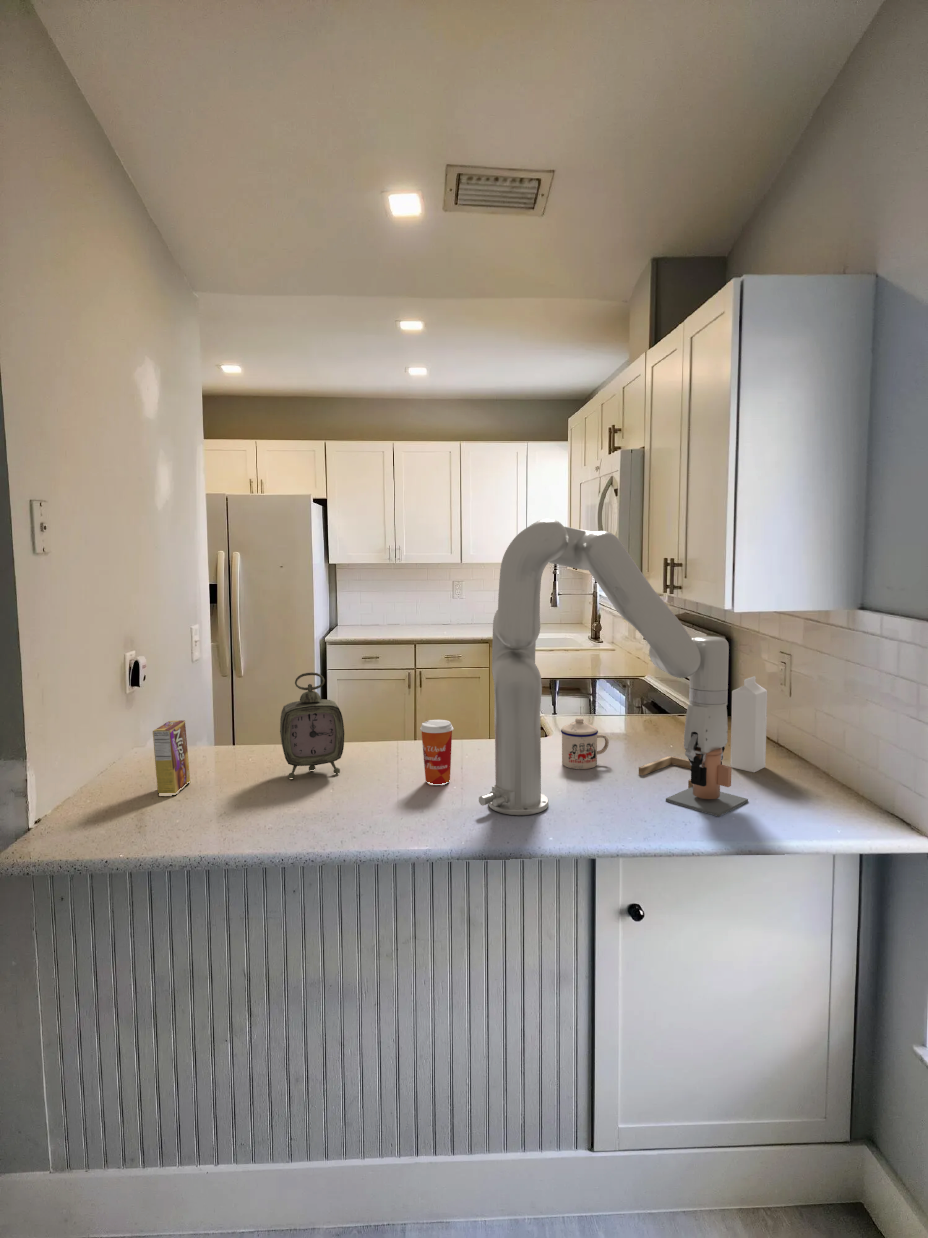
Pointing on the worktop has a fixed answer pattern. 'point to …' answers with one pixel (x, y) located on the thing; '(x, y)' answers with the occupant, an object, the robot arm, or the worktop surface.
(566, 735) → the teacup with lid
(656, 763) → the bent wooden rod
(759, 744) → the milk
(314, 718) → the tabletop clock
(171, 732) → the candy box
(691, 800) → the mat
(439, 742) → the paper cup
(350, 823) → the worktop surface
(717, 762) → the jug
